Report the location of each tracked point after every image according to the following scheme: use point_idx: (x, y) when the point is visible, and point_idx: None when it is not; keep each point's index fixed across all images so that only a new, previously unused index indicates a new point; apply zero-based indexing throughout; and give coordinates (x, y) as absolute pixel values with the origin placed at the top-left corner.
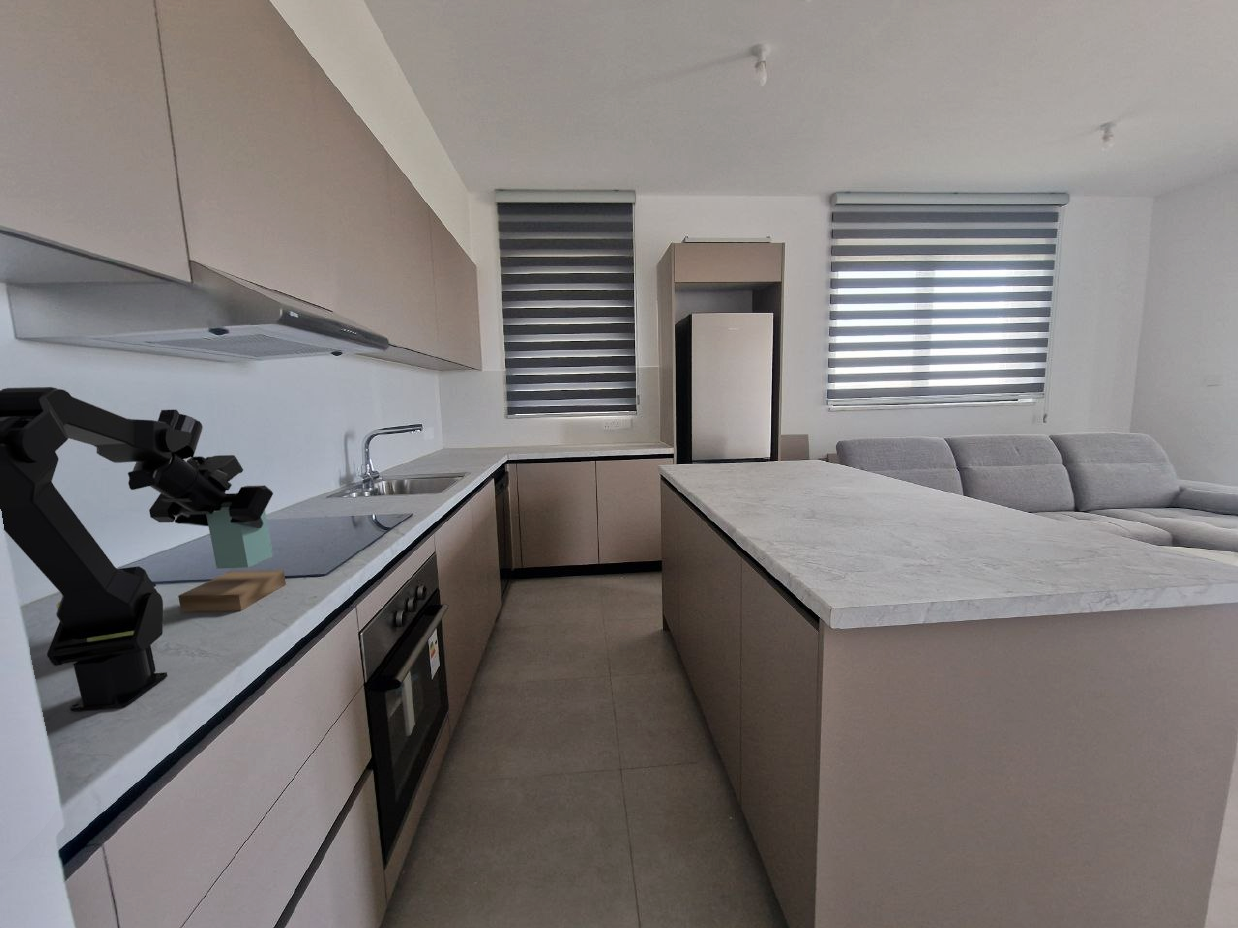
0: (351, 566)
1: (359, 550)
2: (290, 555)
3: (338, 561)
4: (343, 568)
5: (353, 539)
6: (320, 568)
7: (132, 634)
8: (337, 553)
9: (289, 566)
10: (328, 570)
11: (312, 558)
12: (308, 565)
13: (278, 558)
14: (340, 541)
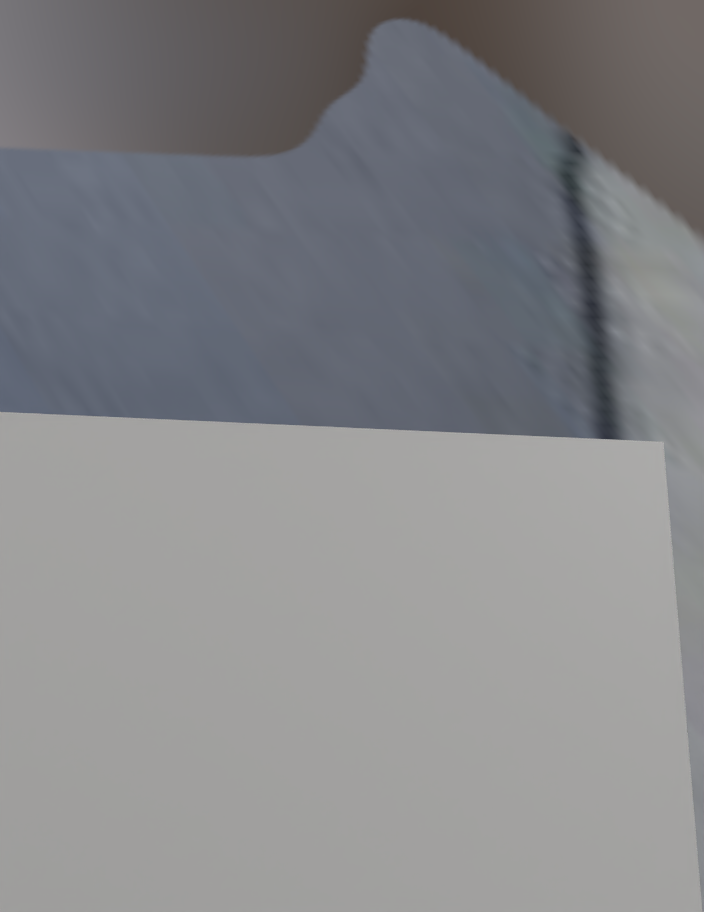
0: (686, 378)
1: (564, 164)
2: (217, 210)
3: (550, 302)
4: (657, 403)
5: (423, 29)
6: (512, 392)
7: None
8: (463, 197)
9: (308, 351)
10: (583, 425)
11: (366, 254)
12: (409, 345)
13: (177, 244)
14: (368, 51)
